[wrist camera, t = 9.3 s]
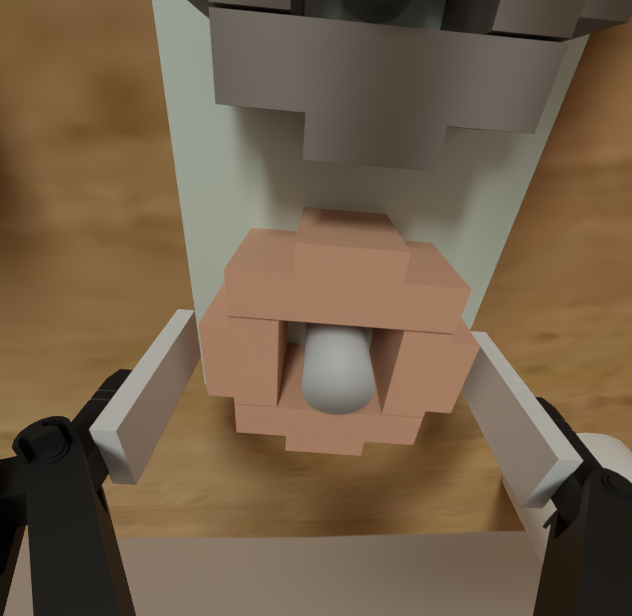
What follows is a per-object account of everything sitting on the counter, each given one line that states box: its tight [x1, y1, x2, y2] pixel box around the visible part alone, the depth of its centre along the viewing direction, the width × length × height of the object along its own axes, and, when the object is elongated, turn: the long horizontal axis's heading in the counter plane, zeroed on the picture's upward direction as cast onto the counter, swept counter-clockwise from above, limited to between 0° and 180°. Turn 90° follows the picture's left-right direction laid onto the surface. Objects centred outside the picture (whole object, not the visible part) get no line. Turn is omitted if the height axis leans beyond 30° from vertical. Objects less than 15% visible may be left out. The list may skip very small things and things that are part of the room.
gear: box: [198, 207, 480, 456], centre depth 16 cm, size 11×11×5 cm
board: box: [152, 0, 590, 415], centre depth 13 cm, size 16×27×8 cm, turn 175°
